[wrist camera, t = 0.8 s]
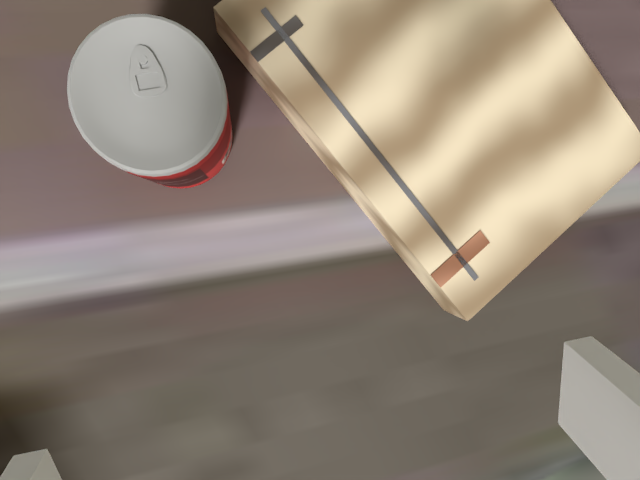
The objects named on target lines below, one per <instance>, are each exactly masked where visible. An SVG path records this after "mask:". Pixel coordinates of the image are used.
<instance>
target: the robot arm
mask: <svg viewBox="0 0 640 480" xmlns="http://www.w3.org/2000/svg"><path fill="white" fill-rule="evenodd" d="M558 424H559V425H560V426H561V427H562V428H563V430H564V431H565V432H566V433H567V434H568V435H569V436H570V438H571V439H572V440H573V441H574V442H575V443H576V445H577V446H578V447H579V448H580V449H581V450H582V451H583V453H584V454H585V455H586V456H587V457H588V458H589V459H590V461H591V462H592V463H593V464H594V465H595V466H596V468H598V470H599V471H600V472H601V473H602V474H603V476H604V477H605V478H606V479H607V480H640V374H639V373H638V372H637V371H636V370H634V369H633V368H632V367H631V366H629V365H628V364H627V363H625V362H624V361H623V360H622V359H620V358H619V357H618V356H616V355H615V354H614V353H613V352H611V351H610V350H609V349H607V348H606V347H605V346H604V345H602V344H601V343H600V342H598V341H597V340H596V339H595V338H593V337H592V336H590V337H585V338H581V339H576V340H571V341H566V342H564V352H563V365H562V378H561V391H560V403H559V416H558ZM0 480H62V479H61V477H60V475H59V473H58V471H57V469H56V467H55V464H54V462H53V460H52V458H51V456H50V454H49V452H48V450H47V449H44V450H39V451H34V452H29V453H24V454H19V455H14V456H13V457H12V459H11V461H10V462H9V464H8V465H7V467H6V469H5V470H4V472H3V473H2V475H1V477H0Z"/></svg>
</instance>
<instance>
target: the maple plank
mask: <svg viewBox="0 0 640 480" xmlns="http://www.w3.org/2000/svg"><path fill="white" fill-rule="evenodd" d="M213 8H214V15H215V21H216V28H217V33H218V34H219V35H220V36H221V38H222V39H223V40H224V41H225V43H226V44H227V45H228V46H229V47H230V49H231V50H232V51H233V52H234V54H235V55H236V56H237V57H238V58H239V60H240V61H241V62H242V63H243V65H244V66H245V67H246V68H247V70H248V71H249V72H250V73H251V74H252V76H253V77H254V78H255V79H256V81H257V82H258V83H259V84H260V85H261V87H262V88H263V89H264V90H265V92H266V93H267V94H268V95H269V96H270V98H271V99H272V100H273V101H274V103H275V104H276V105H277V106H278V108H279V109H280V110H281V111H282V112H283V114H284V115H285V116H286V117H287V119H288V120H289V121H290V122H291V123H292V125H293V126H294V127H295V128H296V130H297V131H298V132H299V133H300V134H301V136H302V137H303V138H304V139H305V141H306V142H307V143H308V144H309V145H310V147H311V148H312V149H313V150H314V152H315V153H316V154H317V155H318V157H319V158H320V159H321V160H322V161H323V163H324V164H325V165H326V166H327V168H328V169H329V170H330V171H331V172H332V174H333V175H334V176H335V177H336V179H337V180H338V181H339V182H340V183H341V185H342V186H343V187H344V188H345V190H346V191H347V192H348V193H349V194H350V196H351V197H352V198H353V199H354V201H355V202H356V203H357V204H358V206H359V207H360V208H361V209H362V210H363V212H364V213H365V214H366V215H367V217H368V218H369V219H370V220H371V221H372V223H373V224H374V225H375V226H376V228H377V229H378V230H379V231H380V232H381V234H382V235H383V236H384V237H385V239H386V240H387V241H388V242H389V244H390V245H391V246H392V247H393V248H394V250H395V251H396V252H397V253H398V255H399V256H400V257H401V258H402V259H403V261H404V262H405V263H406V264H407V266H408V267H409V268H410V269H411V270H412V272H413V273H414V274H415V275H416V277H417V278H418V279H419V280H420V281H421V283H422V284H423V285H424V286H425V288H426V289H427V290H428V291H429V293H430V294H431V295H432V296H433V297H434V299H435V300H436V301H437V302H438V304H439V305H440V306H441V307H442V308H443V310H445V311H447V312H449V313H451V314H453V315H455V316H457V317H460V318H462V319H464V320H466V321H469V320H470V319H471V318H472V317H473V316H474V315H475V314H476V313H477V312H478V311H479V310H480V309H481V308H483V307H484V306H485V305H486V304H487V303H488V302H489V301H490V300H491V299H492V298H493V297H494V296H495V295H496V294H498V293H499V292H500V291H501V290H502V289H503V288H504V287H505V286H506V285H507V284H508V283H509V282H510V281H512V280H513V279H514V278H515V277H516V276H517V275H518V274H519V273H520V272H521V271H522V270H523V269H524V268H526V267H527V266H528V265H529V264H530V263H531V262H532V261H533V260H534V259H535V258H536V257H537V256H538V255H540V254H541V253H542V252H543V251H544V250H545V249H546V248H547V247H548V246H549V245H550V244H551V243H552V242H554V241H555V240H556V239H557V238H558V237H559V236H560V235H561V234H562V233H563V232H564V231H565V230H566V229H567V228H569V227H570V226H571V225H572V224H573V223H574V222H575V221H576V220H577V219H578V218H579V217H580V216H581V215H583V214H584V213H585V212H586V211H587V210H588V209H589V208H590V207H591V206H592V205H593V204H594V203H595V202H597V201H598V200H599V199H600V198H601V197H602V196H603V195H604V194H605V193H606V192H607V191H608V190H609V189H611V188H612V187H613V186H614V185H615V184H616V183H617V182H618V181H619V180H620V179H621V178H622V177H623V176H625V175H626V174H627V173H628V172H629V171H630V170H631V169H632V168H633V167H634V166H635V165H636V164H637V163H638V162H640V132H639V131H638V129H637V128H636V126H635V125H634V123H633V122H632V120H631V119H630V117H629V116H628V114H627V113H626V111H625V110H624V108H623V107H622V105H621V104H620V102H619V101H618V100H617V98H616V97H615V95H614V94H613V92H612V91H611V89H610V88H609V86H608V85H607V83H606V82H605V80H604V79H603V77H602V76H601V74H600V73H599V71H598V70H597V68H596V67H595V65H594V64H593V63H592V61H591V60H590V58H589V57H588V55H587V54H586V52H585V51H584V49H583V48H582V46H581V45H580V43H579V42H578V40H577V39H576V37H575V36H574V34H573V33H572V31H571V30H570V28H569V27H568V25H567V24H566V23H565V21H564V20H563V18H562V17H561V15H560V14H559V12H558V11H557V9H556V8H555V6H554V5H553V3H552V2H551V0H222V1H221V2H219V3H218V4H217V5H215V6H214V7H213Z"/></svg>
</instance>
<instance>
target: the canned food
mask: <svg viewBox="0 0 640 480" xmlns="http://www.w3.org/2000/svg"><path fill="white" fill-rule="evenodd" d="M67 95H68V102H69V108H70V111H71V114H72V117H73V119H74V122H75V124H76V126H77V128H78V129H79V131H80V133H81V135H82V136H83V138H84V139H85V140H86V141H87V143H88V144H89V145H90V146H91V147H92V148H93V150H95V151H96V152H97V153H98V154H99V155H100V156H102V157H103V158H104V159H105V160H107V161H108V162H109V163H111V164H113V165H115V166H116V167H118V168H120V169H122V170H124V171H126V172H128V173H131V174H133V175H136V176H139V177H142V178H144V179H147V180H150V181H153V182H155V183H158V184H161V185H164V186H167V187H173V188H190V187H194V186H197V185H201V184H203V183H204V182H206V181H208V180H210V179H211V178H212V177H214V176H215V175H216V174H217V173H218V172H219V171H220V170H221V168H222V167H223V166H224V164H225V162H226V160H227V158H228V156H229V153H230V150H231V146H232V127H231V119H230V111H229V103H228V95H227V90H226V85H225V82H224V79H223V75H222V72H221V70H220V68H219V66H218V64H217V62H216V60H215V59H214V57H213V55H212V53H211V52H210V51H209V50H208V48H207V47H206V46H205V44H204V43H203V42H202V41H201V40H200V39H199V38H198V37H197V36H196V35H194V34H193V33H192V32H191V31H190V30H188V29H187V28H185V27H183V26H182V25H180V24H178V23H177V22H174V21H172V20H169V19H166V18H164V17H161V16H155V15H149V14H129V15H125V16H121V17H117V18H114V19H112V20H110V21H107V22H105V23H103V24H101V25H100V26H99V27H97V28H96V29H95V30H93V31H92V32H91V33H90V34H88V36H87V37H86V38H85V39H84V41H83V42H82V43H81V44H80V45H79V47H78V49H77V51H76V53H75V55H74V57H73V59H72V61H71V65H70V69H69V73H68V81H67Z"/></svg>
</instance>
